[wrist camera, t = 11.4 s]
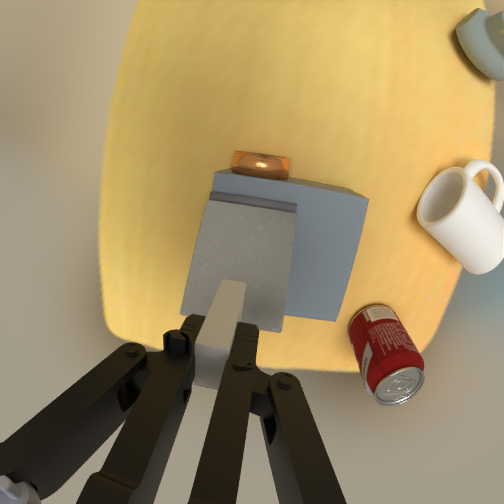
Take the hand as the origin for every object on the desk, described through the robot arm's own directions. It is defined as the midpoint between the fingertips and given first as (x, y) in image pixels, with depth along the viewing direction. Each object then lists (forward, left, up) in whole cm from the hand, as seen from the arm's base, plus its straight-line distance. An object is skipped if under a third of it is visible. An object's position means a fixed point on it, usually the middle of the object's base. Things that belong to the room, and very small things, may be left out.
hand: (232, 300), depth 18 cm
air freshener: (-32, +26, -14) cm, 44 cm away
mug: (-9, +24, -14) cm, 29 cm away
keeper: (-1, 0, -4) cm, 4 cm away
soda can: (+9, +17, -14) cm, 24 cm away
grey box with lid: (-1, +3, -14) cm, 14 cm away
